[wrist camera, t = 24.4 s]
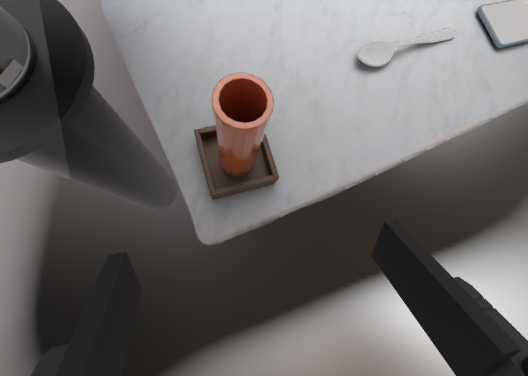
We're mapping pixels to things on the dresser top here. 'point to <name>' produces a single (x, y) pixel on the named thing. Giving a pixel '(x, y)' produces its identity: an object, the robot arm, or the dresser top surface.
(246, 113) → the orange hollow tube
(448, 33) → the spoon
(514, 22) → the smartphone
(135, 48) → the dresser top surface
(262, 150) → the tray
